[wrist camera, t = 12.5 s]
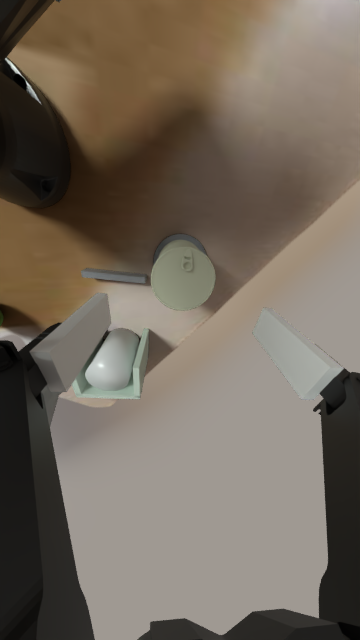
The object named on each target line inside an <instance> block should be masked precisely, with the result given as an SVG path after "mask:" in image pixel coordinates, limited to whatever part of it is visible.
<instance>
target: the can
mask: <svg viewBox="0 0 360 640" xmlns="http://www.w3.org/2000/svg"><path fill="white" fill-rule="evenodd" d="M215 279H216V277H215V270H214V266H213V264H212V262H211V261H210V259H209V258H208V257H207V256H206V255H205V254H204V253H203V252H201V251H200V250H199V249H198V248H197V247H196V246H195V245H194V244H193V243H191V242H189V241H186V240H175V241H172V242H170V243H168V244H167V245H166V246H165V247H164V248H163V249H162V250H161V252H160V254H159V257H158V259H157V261H156V262H155V264H154V266H153V269H152V272H151V286H152V289H153V292H154V294H155V296H156V297H157V299H158V300H159V301H160V302H161V303H162V304H164V305H165V306H167V307H169V308H171V309H174V310H180V311H185V310H191V309H194V308H196V307H198V306H200V305H202V304H203V303H204V302H205V301H206V300H207V299H208V298H209V297H210V295H211V293H212V292H213V289H214V286H215Z"/></svg>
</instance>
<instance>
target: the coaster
mask: <svg viewBox="0 0 360 640" xmlns="http://www.w3.org/2000/svg"><path fill="white" fill-rule="evenodd" d="M175 240H186V241H189V242H191V243H193V244H194V245H195V246H196V247H197V248H198V249H199V250H200V251H201V252H203V253H204V254H205V255H206V252H205V249H204V248H203V246H202V245H201V243H200V242H199V241H198V240H196V239H195V238H194V237H192V236H189V235H186V234H175V235H172V236H169V237H168V238H166V239H165V240H163V241H162V242H161V243H160V245H159V246H158V248H157V250H156V252H155V255H154V261H153V263H154V264H155V262H156V261H157V259H158V257H159V254H160V252H161V250H162V249H163V248H164V247H165V246H166V245H167V244H168V243H170V242H172V241H175ZM206 256H207V255H206Z"/></svg>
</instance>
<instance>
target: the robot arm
mask: <svg viewBox="0 0 360 640" xmlns="http://www.w3.org/2000/svg"><path fill="white" fill-rule="evenodd" d="M56 1H58V2H60V1H61V0H56ZM53 2H54V0H0V198H2V199H4V200H6V201H8V202H11V203H14V204H17V205H21V206H27V207H35V208H43V207H48V206H51V205H53V204H55V203H56V202H58V201H59V200H60V199H61V198H62V196H63V195H64V193H65V192H66V189H67V187H68V184H69V179H70V156H69V151H68V146H67V142H66V139H65V136H64V133H63V130H62V128H61V126H60V123H59V121H58V119H57V117H56V115H55V113H54V111H53V110H52V108H51V106H50V105H49V103H48V102H47V100H46V99H45V97H44V96H43V94H42V93H41V92H40V90H39V89H38V88H37V87H36V86H35V84H34V83H33V82H32V81H31V80H30V79H29V78H28V77H27V76H26V75H25V74H24V73H23V72H22V71H21V70H20V69H19V68H18V67H17V66H16V65H15V64H14V63H13V62H12V61H11V60H10V59H9V58H8V57H7V56H8V55H9V53H10V52H11V51H12V50H13V48H14V47H15V46H16V45H17V43H18V42H19V41H20V40H21V38H22V37H23V36H24V35H25V34H26V32H27V31H28V30H29V29H30V28H31V27H32V26H33V24H34V23H35V22H36V21H37V20H38V19H39V18H40V16H41V15H42V14H43V13H44V12H45V11H46V10H47V8H48V7H49V6H50V5H51V4H52V3H53ZM110 324H111V317H110V310H109V303H108V296H107V294H105V293H96V294H95V295H94V296H93V297H92V298H91V299H89V300H88V301H87V302H86V303H85V304H84V305H83V306H81V307H80V308H79V309H78V310H77V311H76V312H74V313H73V314H72V315H71V316H70V317H69V318H68V319H66V320H65V321H64V322H63V323H57V324H55V325H52V326H50V327H49V328H47V329H46V330H45V331H44V332H42V334H40V335H39V336H37V338H35V339H34V340H32V341H31V342H30V343H29V344H28V345H26V346H25V347H24V348H23V349H21V350H20V351H19V352H18V351H17V349H16V347H15V346H14V344H13V343H12V342H10V341H0V640H95V639H94V634H93V629H92V624H91V619H90V615H89V610H88V606H87V603H86V600H85V597H84V595H83V592H82V590H81V588H80V584H79V581H78V576H77V571H76V566H75V560H74V555H73V550H72V545H71V539H70V534H69V529H68V523H67V518H66V512H65V507H64V502H63V496H62V491H61V486H60V480H59V475H58V470H57V464H56V459H55V454H54V448H53V443H52V438H51V432H50V427H49V422H48V416H47V411H46V406H45V400H44V395H43V393H42V392H41V391H42V390H43V389H44V387H45V386H46V385H48V387H49V389H50V391H51V392H67V391H68V389H69V388H70V386H71V385H72V383H73V382H74V380H75V378H76V377H77V375H78V374H79V372H80V371H81V369H82V368H83V366H84V365H85V363H86V361H87V360H88V358H89V357H90V355H91V354H92V352H93V351H94V349H95V348H96V346H97V344H98V343H99V341H100V340H101V338H102V337H103V335H104V334H105V332H106V331H107V329H108V327H109V326H110ZM252 333H253V335H254V336H255V337H256V339H257V340H258V342H259V343H260V344H261V346H262V347H263V348H264V350H265V351H266V352H267V354H268V355H269V356H270V358H271V359H272V361H273V362H274V363H275V364H276V366H277V367H278V369H279V370H280V371H281V373H282V374H283V375H284V377H285V378H286V379H287V381H288V382H289V383H290V385H291V386H292V388H293V389H294V390H295V391H296V393H297V394H298V396H299V397H300V398H301V399H302V400H314V399H315V398H316V397H317V396H318V395H319V394H320V395H321V396H322V397H323V398H324V399H323V400H322V401H321V402H320V403H319V404H318V405H317V406H316V407H315V408H314V409H313V411H314V412H316V411H317V410H318V409H320V410H321V412H320V413H319V414H320V415H321V424H322V444H323V464H324V483H325V504H326V523H327V543H328V566H327V570H326V572H325V574H324V575H323V577H322V579H321V583H320V587H319V618H315V617H312V616H308V615H304V614H301V613H297V612H293V611H290V610H286V609H276V610H265V611H255V612H252V613H250V614H249V615H248V616H247V617H245V618H244V619H243V620H242V621H240V622H239V623H238V624H237V625H236V626H234V627H233V628H232V629H231V630H229V631H228V632H227V633H226V634H224V635H218V634H216V633H214V632H212V631H210V630H208V629H206V628H204V627H201V626H200V625H198V624H195V623H193V622H191V621H189V620H187V619H185V618H184V619H173V620H163V621H153V622H151V623H150V630H149V631H148V632H147V633H145V634H144V635H142V636H141V637H140V638H139V639H138V640H360V373H356V372H351V373H350V372H348V371H347V370H346V369H345V368H343V367H342V366H341V365H340V364H339V363H338V362H336V361H335V360H334V359H333V358H332V357H330V356H329V355H328V354H326V353H325V352H324V351H323V350H322V349H320V348H319V347H318V346H317V345H316V344H314V343H313V342H312V341H310V340H309V339H308V338H307V337H306V336H304V335H303V334H302V333H301V332H300V331H298V330H297V329H296V328H294V326H292V325H291V324H290V323H289V322H288V321H286V320H285V319H284V318H283V317H282V316H280V315H279V314H278V313H277V312H276V311H274V310H273V309H272V308H263V310H262V312H261V314H260V317H259V319H258V321H257V324H256V326H255V328H254V330H253V332H252Z"/></svg>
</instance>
